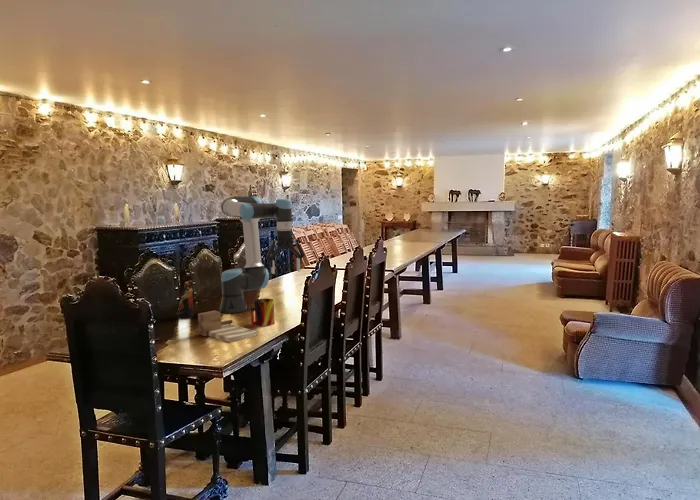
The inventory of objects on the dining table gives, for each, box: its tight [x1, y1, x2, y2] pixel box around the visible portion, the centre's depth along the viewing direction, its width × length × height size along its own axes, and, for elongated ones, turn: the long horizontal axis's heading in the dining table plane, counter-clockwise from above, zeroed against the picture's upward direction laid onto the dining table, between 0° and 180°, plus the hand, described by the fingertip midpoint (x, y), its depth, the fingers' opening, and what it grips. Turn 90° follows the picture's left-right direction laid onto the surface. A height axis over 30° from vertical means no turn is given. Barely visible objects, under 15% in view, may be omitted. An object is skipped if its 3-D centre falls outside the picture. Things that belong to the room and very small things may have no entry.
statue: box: [177, 279, 195, 320], centre depth 264 cm, size 12×8×20 cm, turn 0°
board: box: [207, 323, 258, 343], centre depth 228 cm, size 24×14×2 cm, turn 46°
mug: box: [250, 297, 275, 327], centre depth 244 cm, size 10×14×12 cm
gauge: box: [197, 309, 233, 337], centre depth 232 cm, size 5×16×10 cm, turn 136°
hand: (286, 272), depth 247 cm, fingers open, 13 cm apart
